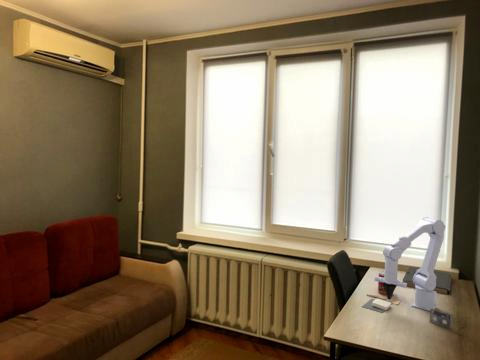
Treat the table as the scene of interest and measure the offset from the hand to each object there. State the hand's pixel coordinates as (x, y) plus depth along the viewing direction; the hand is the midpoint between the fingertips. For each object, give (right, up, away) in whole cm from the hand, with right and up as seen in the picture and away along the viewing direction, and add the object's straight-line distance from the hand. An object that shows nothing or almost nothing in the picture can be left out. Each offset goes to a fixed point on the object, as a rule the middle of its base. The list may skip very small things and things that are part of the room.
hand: (389, 298), depth 179 cm
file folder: (+40, -4, +43) cm, 58 cm away
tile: (0, -4, 0) cm, 4 cm away
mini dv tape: (+16, -7, -15) cm, 23 cm away
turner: (+2, -4, +12) cm, 13 cm away
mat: (-5, -5, +4) cm, 8 cm away
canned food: (+7, -4, +22) cm, 23 cm away
